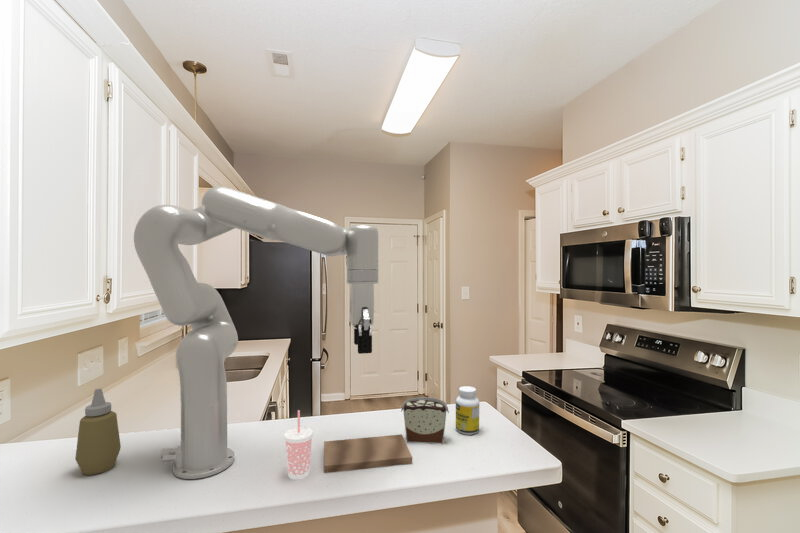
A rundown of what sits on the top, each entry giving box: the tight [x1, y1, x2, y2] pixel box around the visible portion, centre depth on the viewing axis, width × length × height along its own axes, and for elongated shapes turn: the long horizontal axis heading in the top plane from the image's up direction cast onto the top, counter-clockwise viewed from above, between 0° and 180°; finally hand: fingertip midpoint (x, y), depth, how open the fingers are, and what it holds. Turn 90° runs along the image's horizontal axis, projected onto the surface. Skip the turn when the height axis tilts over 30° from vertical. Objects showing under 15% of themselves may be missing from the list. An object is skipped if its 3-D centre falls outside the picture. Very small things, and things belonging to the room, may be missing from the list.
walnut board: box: [323, 434, 413, 474], centre depth 92 cm, size 20×12×2 cm, turn 101°
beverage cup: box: [284, 409, 314, 481], centre depth 84 cm, size 6×6×14 cm
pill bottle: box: [455, 385, 480, 436], centre depth 106 cm, size 6×6×12 cm
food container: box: [400, 396, 450, 445], centre depth 101 cm, size 12×6×10 cm, turn 85°
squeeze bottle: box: [74, 388, 121, 476], centre depth 86 cm, size 8×8×18 cm
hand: (362, 348), depth 92 cm, fingers open, 9 cm apart
